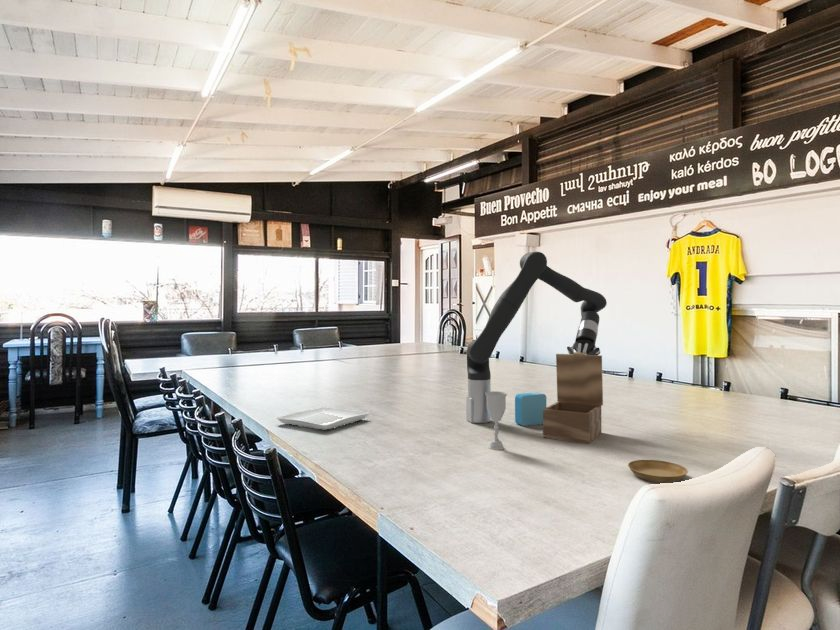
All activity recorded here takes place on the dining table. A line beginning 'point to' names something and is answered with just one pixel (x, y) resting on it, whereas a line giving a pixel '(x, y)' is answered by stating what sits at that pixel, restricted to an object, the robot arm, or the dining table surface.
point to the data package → (529, 408)
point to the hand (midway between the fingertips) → (579, 367)
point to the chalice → (496, 414)
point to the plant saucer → (657, 470)
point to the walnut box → (572, 421)
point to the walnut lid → (579, 378)
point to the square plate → (345, 413)
